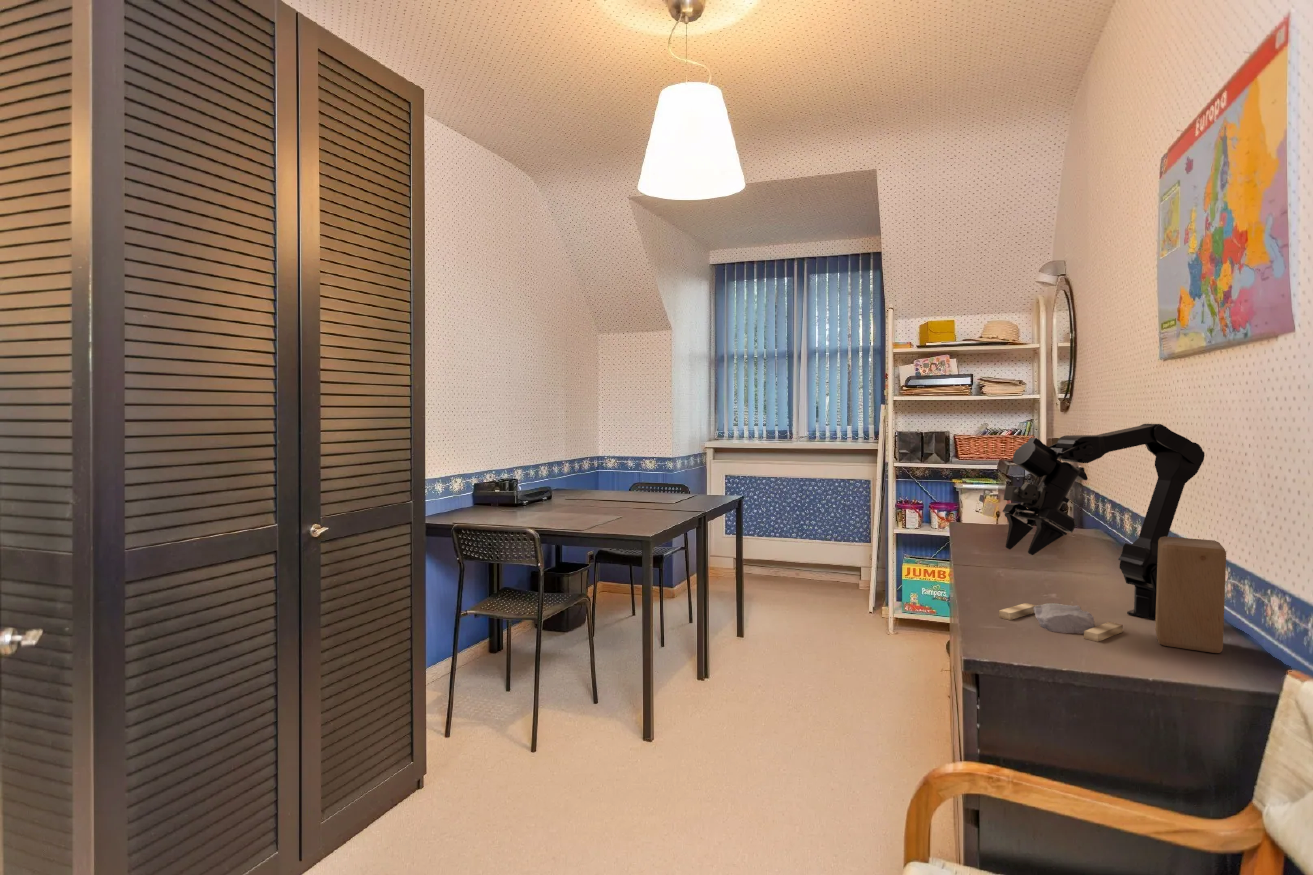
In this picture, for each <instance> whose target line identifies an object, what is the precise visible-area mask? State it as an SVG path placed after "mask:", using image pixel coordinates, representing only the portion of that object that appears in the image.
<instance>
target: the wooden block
mask: <svg viewBox="0 0 1313 875" xmlns="http://www.w3.org/2000/svg"><path fill="white" fill-rule="evenodd" d="M1226 569H1227V551H1226V549H1225V547H1224V546H1223V545H1222V544H1221V543H1220V542H1219V541H1217V540H1215V539H1214V540H1213V539H1201V538H1189V537H1188V538H1187V537H1177V536H1168V537H1166V536H1164V537H1160V539H1159V540H1158V562H1157V592H1156V620H1155V625H1154V627H1155V628H1154V629H1155V634H1156V639H1157V642H1158V644H1159V645H1162V646H1163V647H1168V648H1169V647H1170V648H1176V649H1184V650H1190V651H1197V652H1203V653H1211V654H1220V653H1222V651H1223V650H1224V624H1225V600H1226V599H1225V598H1226V573H1227V572H1226V571H1227V570H1226Z"/></svg>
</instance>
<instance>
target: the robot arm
mask: <svg viewBox="0 0 1313 875" xmlns="http://www.w3.org/2000/svg"><path fill="white" fill-rule="evenodd" d="M1144 445H1145V447H1146V448H1147V451H1148V452H1150V453H1151V454H1152V455H1154V456H1155V459H1154V468H1155V471H1156V474H1157V480H1156V484H1155V486H1154V490H1153V492H1152V495H1151V499H1150V501H1149V504H1148V508H1147V511H1146V513H1145V517H1144V520H1143V523H1142V526H1141V529H1140V532H1139V535H1138V537H1137V539H1136V540H1135V541H1134V542H1133V543H1128V542H1125V543H1124V544H1123V546H1122V552H1121V554H1120V556H1119V557H1118V559H1117V560H1118V561H1119V570H1121V573H1122V575H1123V577H1124V581H1125V584H1127V585H1132V586H1134V591H1133V592H1134V594H1133V609H1131V610H1127V611H1126V612H1127V615H1129V616H1130V615H1131V616H1134V617H1135V616H1136V617H1140V618H1145V619H1150V620H1153V621H1154V620H1155V621H1156V592H1157V562H1158V540H1159V539H1160V537H1164V536H1166V537H1169V533H1170V530H1171V526H1172V524H1173V521H1174V518H1175V515H1176V512H1177V509H1178V505H1179V504H1180V503H1179V502H1180V500H1181V497H1182V493H1183V491H1184V488H1185V485H1186V484H1187V482H1189V481H1190V480H1191V479H1192V478H1193V477H1195V475H1197V474H1198V472H1199V470H1200V469H1201V466H1202V464H1203V462H1204V460H1205V451H1204V450H1203V448H1202V446H1201V445H1200V444H1199V443H1197V442H1195V441H1194V442H1193V441H1191V440H1190V439H1189V438H1187V437H1184V436H1182V435H1180V434H1178V433H1176V432H1174V431H1173V430H1171V429H1170V428H1168V427H1167V426H1166V425H1164V424H1162V423H1143V424H1140V425H1137V426H1133V427H1128V428H1123V429H1118V430H1114V431H1109V432H1105V433H1104V432H1103V433H1100V434H1094V435H1093V434H1092V435H1091V434H1090V435H1089V434H1087V435H1086V434H1085V435H1084V434H1076V435H1075V434H1074V435H1073V434H1070V435H1063V436H1061V437H1059V438H1058V440H1057V442H1055V443H1053V444H1050V445H1049V446H1048V445H1046V444H1044V442H1042V441H1041V439H1039V438H1037V437H1030V438H1029V439H1028V440H1027V441H1026V442H1025V443H1022V444H1021V446H1019V447H1018V449H1015V451H1014V453H1013V457H1012V462H1013V463H1014V464H1015V465H1016V466H1018V467H1019V468H1021V469H1022V470H1024V471H1026V472H1027V473H1029V474H1031V475H1032V476H1034V477H1035V478H1041V480H1040V482H1039V484H1038V485H1037V484H1032V483H1023V485H1022V486H1014V485H1005V489H1004V494H1003V500H1004V501H1010V503H1007V504H1005V506H1004V508H1003V510H1002V512H1003V514H1004V517H1005V518H1006V520H1007V521H1008V530H1007V535H1006V536H1007V537H1006V541H1005V548H1006V549H1008V550H1012V549H1013V548H1014V547H1016V545H1017V544H1019V543H1020V542H1021V541H1022V540H1023V539H1024V538H1025V537H1026V536H1027V535H1028V534H1029V533H1030V532H1031V531H1033V529H1034V527H1033V526H1034V525H1035V524H1036V530H1035V533H1034V535H1033V537H1032V540H1031V542H1030V544H1029V547H1028V550H1027V554H1029V555H1030V556H1033V555H1036V554H1037V553H1039V552H1040V551H1042V550H1043V549H1045V548H1046V547H1047V546H1048V545H1050V544H1052V543H1054V542H1055V541H1057V540H1059V539H1060V538H1062V537H1064V536H1067V534H1068V533H1070V534H1072V533H1073V532H1074V530H1075V528H1076V527H1077V523H1076V520H1075V518H1074V517H1072V516H1070V515H1069V514H1067V513H1066V512H1063V511H1062V510H1060V509H1061V507H1062V505H1063V504H1068V503H1069V501H1070V499H1069V498H1068V497H1067V496H1068V494H1069V493H1070V491H1071V490H1072V487H1073V486H1074V483H1075V482H1076V480H1080V481H1087V480H1088V476H1087V474H1086V471H1085V468H1084V467H1083V466H1081V467H1080V466H1075V465H1073V464H1071V463H1077V464H1088V463H1091V462H1094V461H1096V460H1098V459H1101V458H1102V457H1104V455H1106V454H1108V453H1111V452H1114V451H1115V452H1116V451H1119V450H1125V449H1130V448H1134V447H1138V446H1144ZM1058 459H1060V460H1061V461H1060V460H1058ZM1012 501H1013V502H1012ZM1015 502H1016V503H1015ZM1018 502H1019V503H1018Z"/></svg>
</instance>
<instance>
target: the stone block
mask: <svg viewBox="0 0 1313 875" xmlns="http://www.w3.org/2000/svg"><path fill="white" fill-rule="evenodd" d="M1034 612H1035V613H1034V614H1035V615H1034V616H1035V619H1036V620H1037V621H1038V623H1039V626H1040V627H1041V628H1042V629H1045V630H1047V631H1049V632H1052V633H1053V632H1054V633H1064V634H1066V633H1067V634H1083V635H1084V631H1085V630H1088V629H1091V628H1094V627H1095V617H1094V616H1093V614H1092V613H1091V612H1089V611H1086V610H1082V608H1081V607H1080V605H1077V604H1076V605H1070V604H1061V603H1054V602H1053V603H1049V602H1048V603H1044V604H1038V605H1037V606H1035V607H1034Z"/></svg>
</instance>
